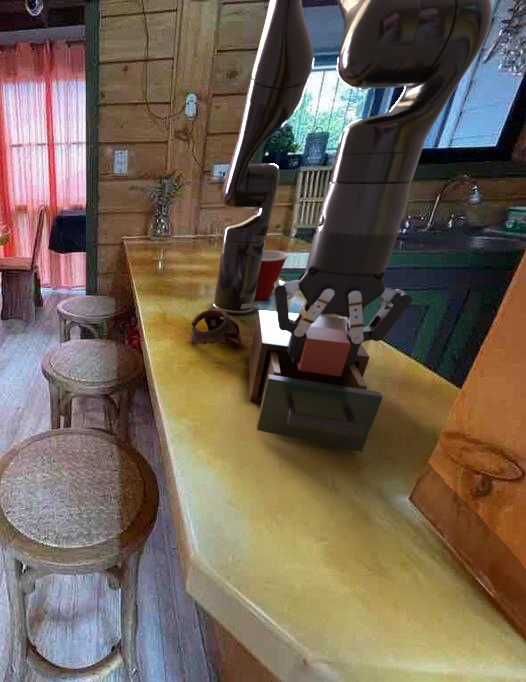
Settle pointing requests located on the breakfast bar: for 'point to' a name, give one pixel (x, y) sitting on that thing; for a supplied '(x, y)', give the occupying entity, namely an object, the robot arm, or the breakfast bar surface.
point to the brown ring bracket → (215, 327)
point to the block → (324, 351)
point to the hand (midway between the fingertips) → (317, 362)
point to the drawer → (316, 404)
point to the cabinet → (285, 345)
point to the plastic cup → (269, 273)
